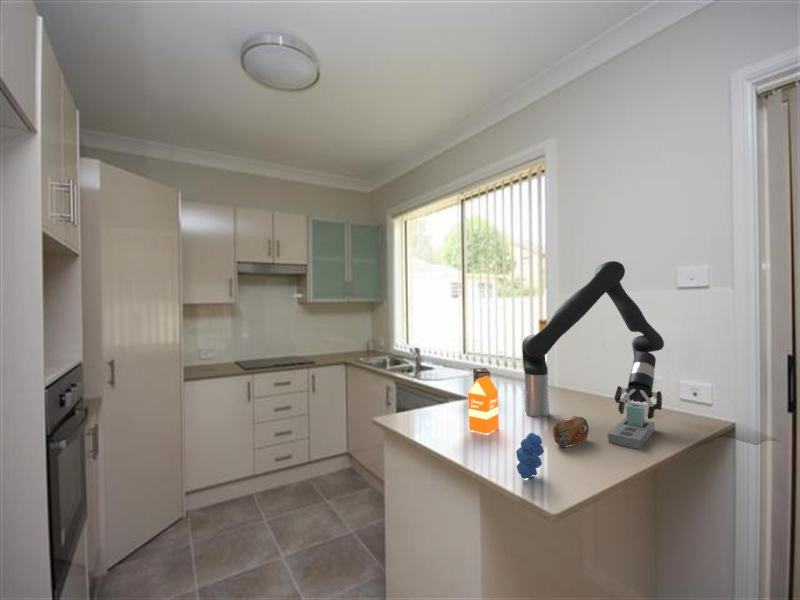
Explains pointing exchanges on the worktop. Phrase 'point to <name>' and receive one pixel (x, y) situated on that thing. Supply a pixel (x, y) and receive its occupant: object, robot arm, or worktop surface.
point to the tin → (570, 431)
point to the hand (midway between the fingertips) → (635, 415)
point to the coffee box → (480, 373)
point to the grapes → (529, 455)
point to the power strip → (631, 434)
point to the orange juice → (483, 406)
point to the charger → (635, 415)
